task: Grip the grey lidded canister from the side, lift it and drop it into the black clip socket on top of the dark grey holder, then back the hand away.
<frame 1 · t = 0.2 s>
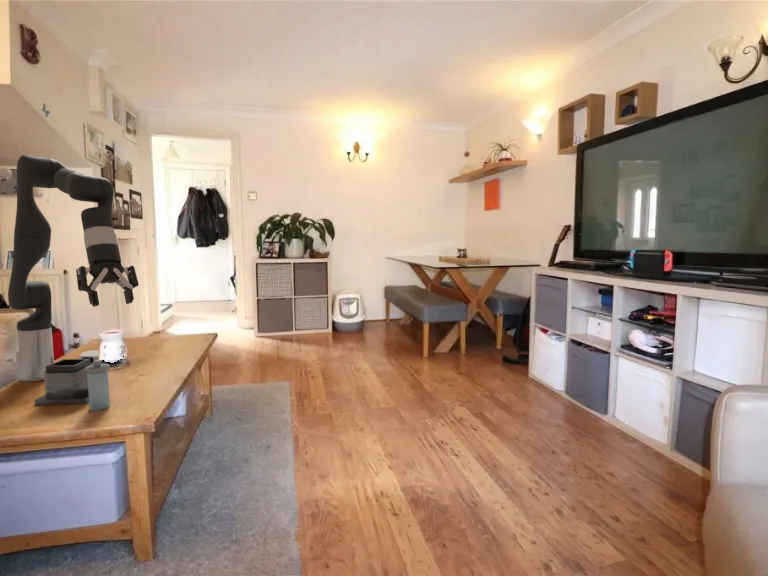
hand: (113, 304, 118), 30 cm above the table, tool tilted 20°, fingers open, 8 cm apart
dark grey holder: (71, 398, 134), on the table
grey lidded canister: (99, 407, 127), on the table
robot toy: (102, 364, 172), on the table
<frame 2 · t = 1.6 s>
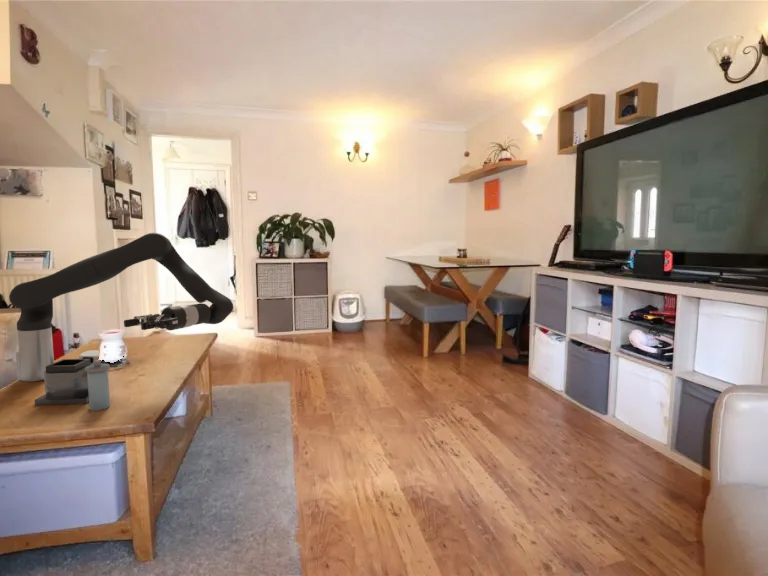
hand: (133, 325, 134), 22 cm above the table, tool horizontal, fingers open, 8 cm apart
nothing on the table moved.
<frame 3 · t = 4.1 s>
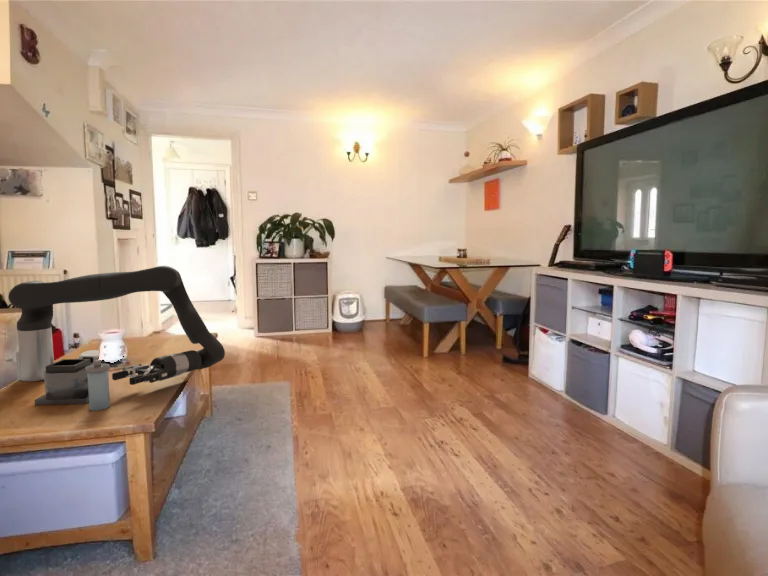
hand: (121, 379, 132), 6 cm above the table, tool horizontal, fingers open, 8 cm apart
nothing on the table moved.
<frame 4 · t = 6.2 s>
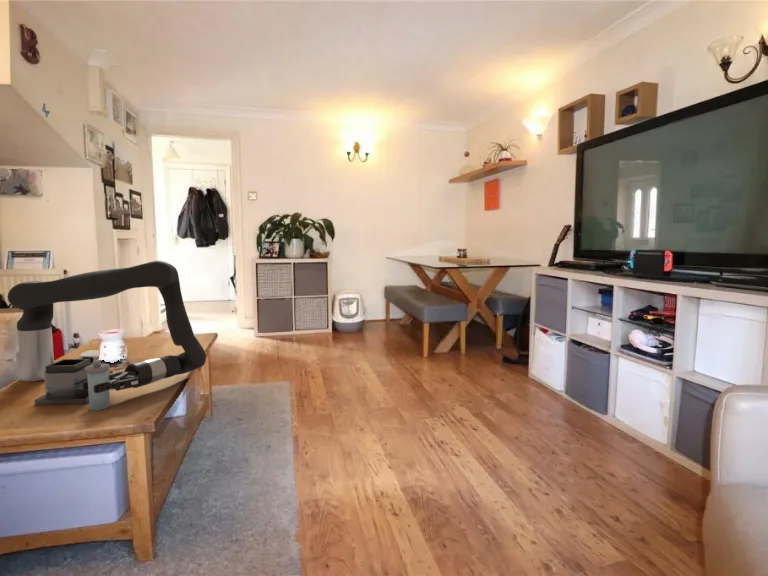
hand: (89, 387, 124), 7 cm above the table, tool horizontal, fingers closed on grey lidded canister, 5 cm apart
grey lidded canister: (99, 407, 127), on the table, touching gripper
everything else where it was.
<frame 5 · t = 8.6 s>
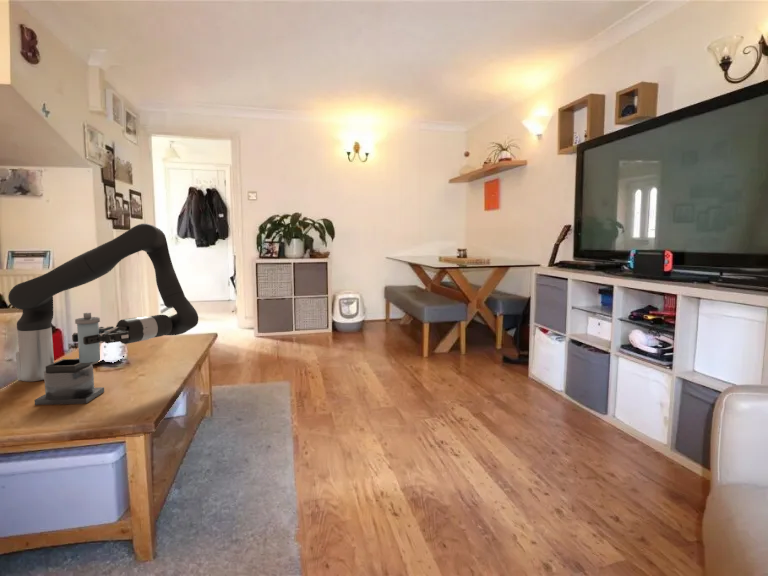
hand: (78, 339, 124), 20 cm above the table, tool horizontal, fingers closed on grey lidded canister, 5 cm apart
grey lidded canister: (89, 360, 126), point 13 cm above the table, touching gripper
everything else where it was.
when the fingers open (17 cm above the table, at t = 10.9 s): grey lidded canister drops 1 cm, resting on dark grey holder.
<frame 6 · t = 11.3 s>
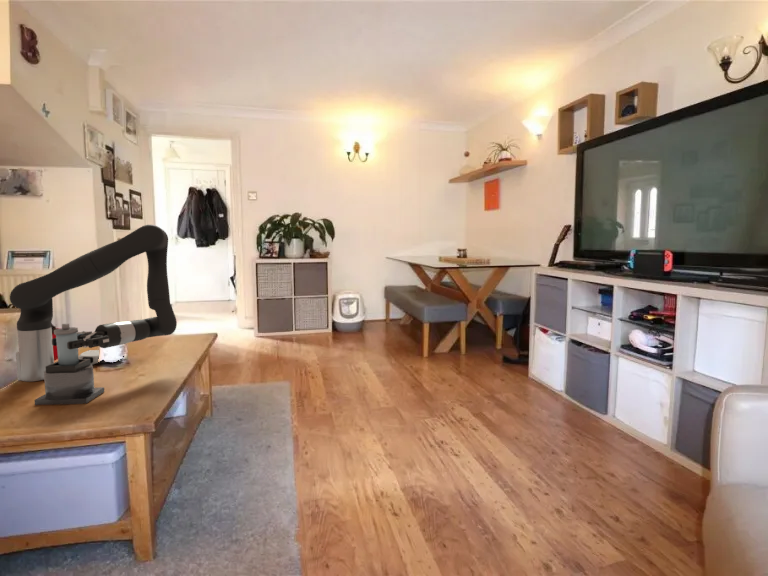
hand: (60, 344, 130), 17 cm above the table, tool horizontal, fingers open, 8 cm apart
grey lidded canister: (69, 368, 133), point 9 cm above the table, touching dark grey holder
everything else where it was.
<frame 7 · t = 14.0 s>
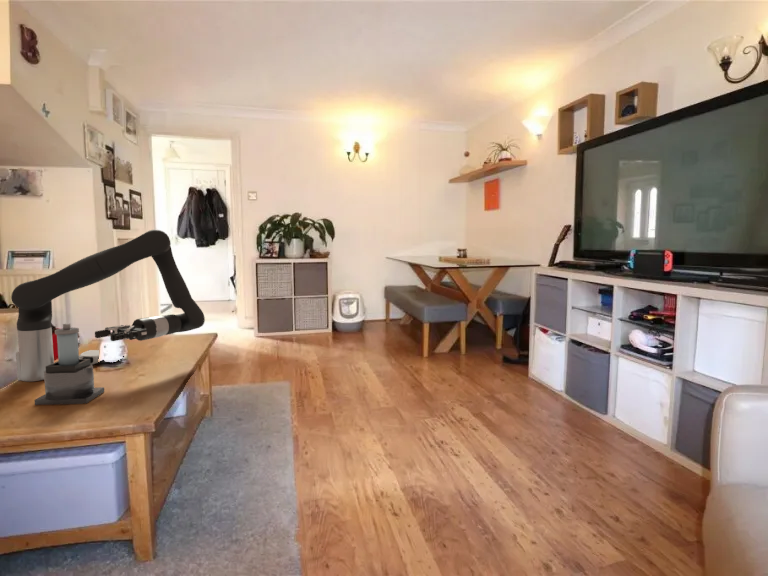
hand: (103, 336, 141), 17 cm above the table, tool horizontal, fingers open, 8 cm apart
nothing on the table moved.
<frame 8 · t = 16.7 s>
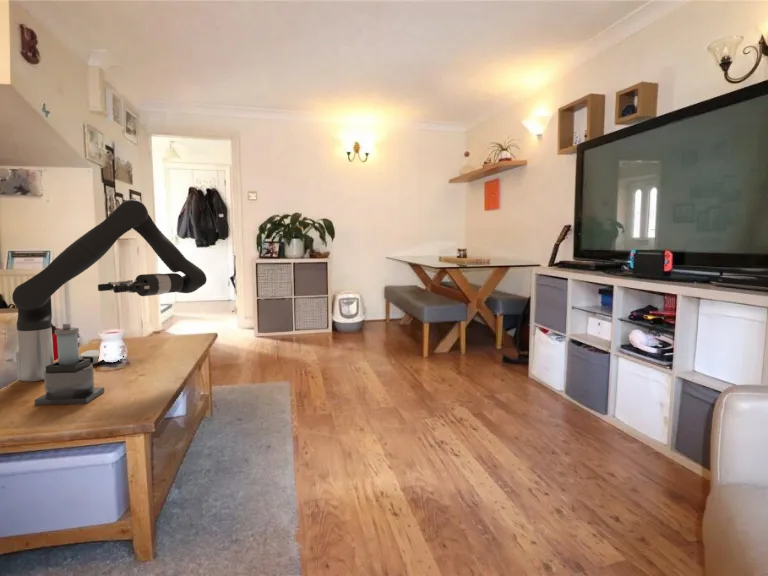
hand: (106, 288, 142), 32 cm above the table, tool horizontal, fingers open, 8 cm apart
nothing on the table moved.
at the end: grey lidded canister 0.1 cm off-centre on the dark grey holder, point 9.0 cm above the dark grey holder's base; grey lidded canister tilted 0°; the gripper is holding nothing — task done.
